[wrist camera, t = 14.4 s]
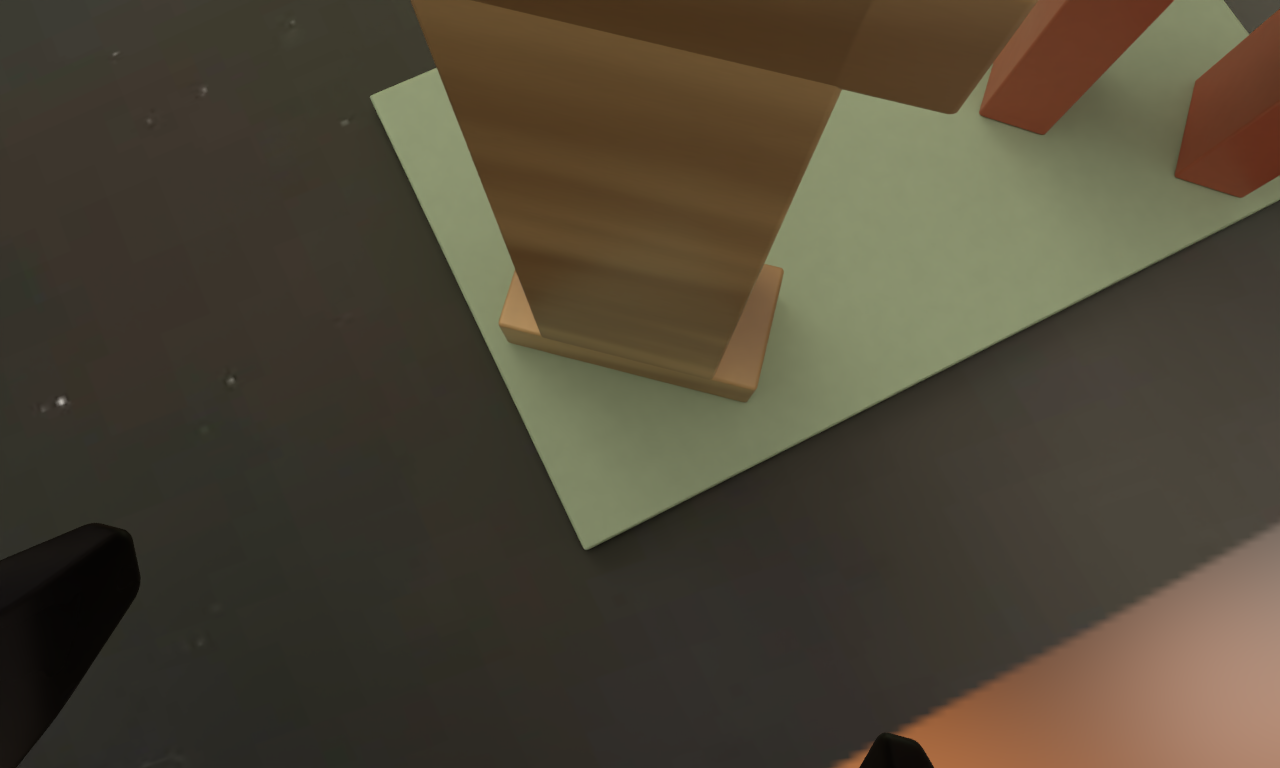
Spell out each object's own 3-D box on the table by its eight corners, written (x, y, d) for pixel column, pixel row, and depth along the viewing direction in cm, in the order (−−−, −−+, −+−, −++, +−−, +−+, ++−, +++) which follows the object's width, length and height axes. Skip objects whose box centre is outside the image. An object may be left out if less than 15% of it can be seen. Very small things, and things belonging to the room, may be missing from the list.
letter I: (747, 404, 19) (1043, 1, 5) (506, 342, 19) (209, -190, 6) (774, 289, 20) (1098, -331, 6) (541, 231, 20) (348, -488, 6)
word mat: (1331, 173, 21) (1348, 164, 21) (585, 551, 19) (584, 550, 18) (1063, -187, 24) (1073, -202, 23) (374, 106, 21) (368, 95, 21)
